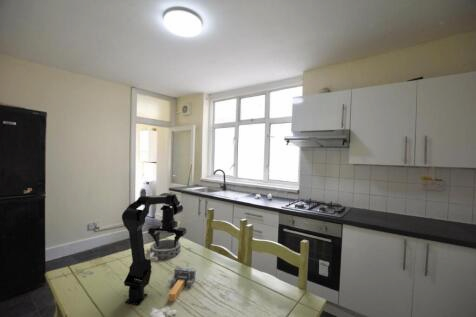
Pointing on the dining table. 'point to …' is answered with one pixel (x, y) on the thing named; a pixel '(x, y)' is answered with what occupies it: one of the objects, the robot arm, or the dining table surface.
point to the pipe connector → (150, 255)
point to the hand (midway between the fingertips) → (166, 247)
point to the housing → (179, 270)
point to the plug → (178, 286)
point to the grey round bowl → (165, 253)
